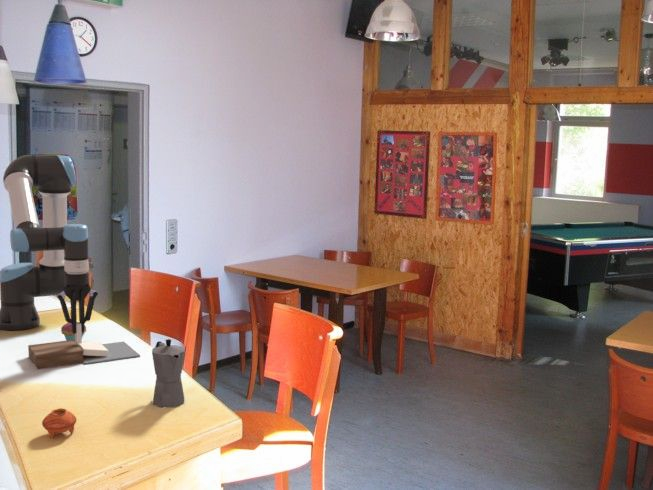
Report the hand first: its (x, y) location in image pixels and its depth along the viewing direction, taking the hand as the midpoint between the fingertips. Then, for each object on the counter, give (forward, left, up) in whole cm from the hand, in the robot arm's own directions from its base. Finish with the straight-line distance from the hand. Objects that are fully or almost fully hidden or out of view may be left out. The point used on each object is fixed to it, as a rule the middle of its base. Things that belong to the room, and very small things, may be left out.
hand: (78, 342), depth 238 cm
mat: (0, +9, -5) cm, 10 cm away
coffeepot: (+51, +12, -5) cm, 52 cm away
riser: (0, -7, -5) cm, 9 cm away
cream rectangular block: (0, +4, -4) cm, 5 cm away
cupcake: (-18, +3, -5) cm, 19 cm away
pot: (+60, -19, -5) cm, 63 cm away
